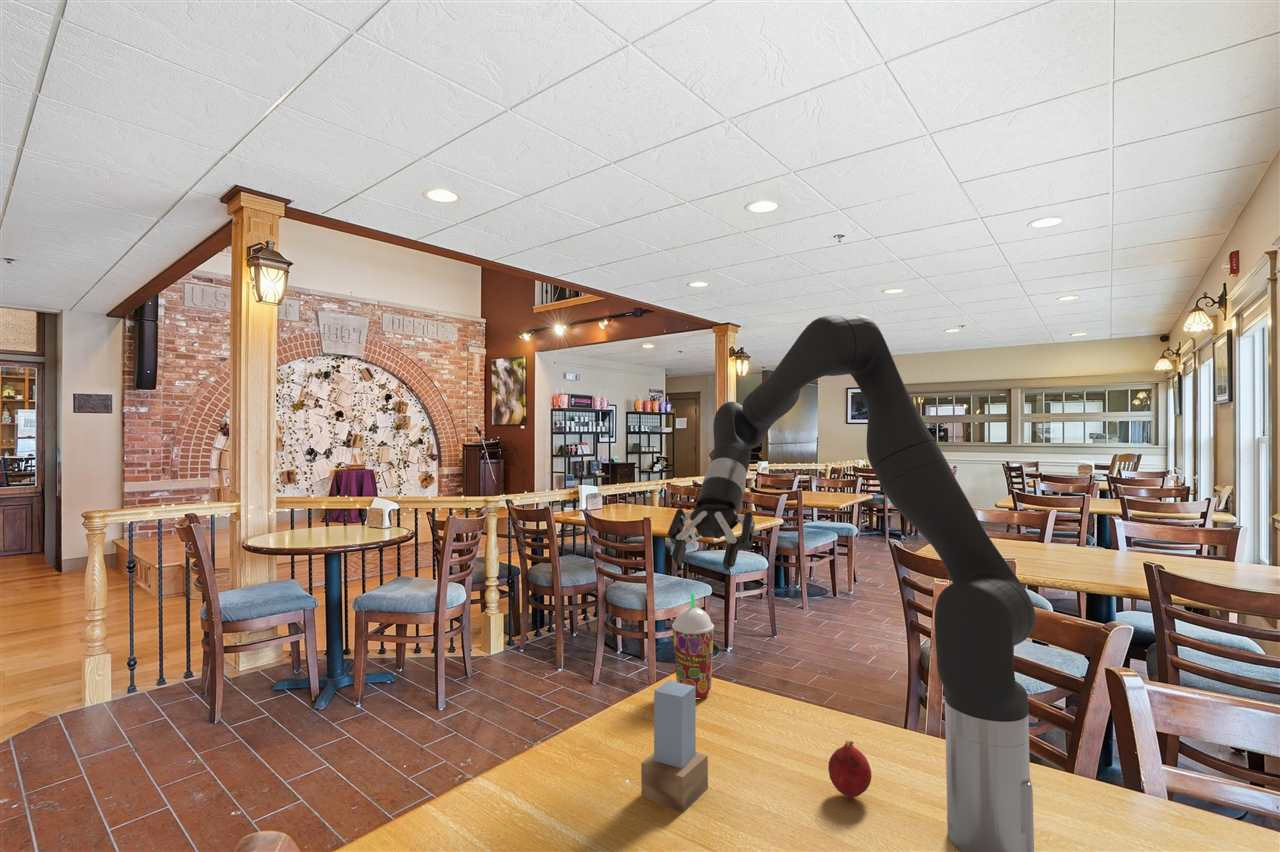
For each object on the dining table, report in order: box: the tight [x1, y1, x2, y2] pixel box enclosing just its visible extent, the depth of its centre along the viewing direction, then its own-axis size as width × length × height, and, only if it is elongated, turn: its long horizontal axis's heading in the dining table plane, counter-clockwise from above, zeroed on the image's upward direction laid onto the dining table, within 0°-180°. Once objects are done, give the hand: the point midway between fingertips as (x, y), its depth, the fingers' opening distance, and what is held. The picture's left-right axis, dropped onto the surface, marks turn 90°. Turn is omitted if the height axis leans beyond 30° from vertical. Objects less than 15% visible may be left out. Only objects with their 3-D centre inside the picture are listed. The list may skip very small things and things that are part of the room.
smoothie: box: [671, 593, 715, 699], centre depth 124 cm, size 8×8×20 cm
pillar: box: [653, 680, 697, 769], centre depth 90 cm, size 4×4×10 cm
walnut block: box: [640, 751, 709, 814], centre depth 90 cm, size 7×7×5 cm
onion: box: [827, 739, 872, 799], centre depth 88 cm, size 6×6×8 cm
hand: (701, 565), depth 101 cm, fingers open, 8 cm apart
